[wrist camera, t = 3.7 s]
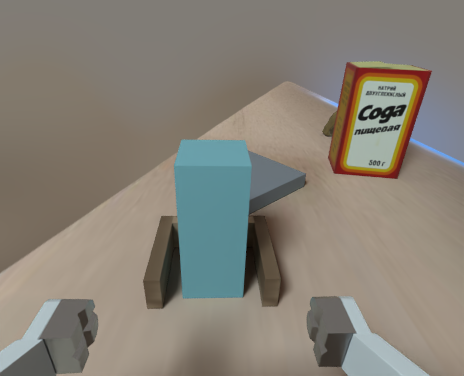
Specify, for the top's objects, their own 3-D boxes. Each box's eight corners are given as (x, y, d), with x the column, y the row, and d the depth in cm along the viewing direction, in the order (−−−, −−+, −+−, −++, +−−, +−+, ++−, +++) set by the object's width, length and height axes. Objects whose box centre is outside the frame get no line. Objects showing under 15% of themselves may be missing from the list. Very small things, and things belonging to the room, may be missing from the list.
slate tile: (244, 160, 51) (245, 149, 50) (303, 186, 43) (306, 173, 42) (186, 181, 44) (185, 168, 43) (244, 216, 36) (245, 201, 35)
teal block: (238, 257, 30) (245, 140, 24) (242, 297, 25) (251, 166, 20) (187, 257, 29) (181, 139, 24) (182, 298, 25) (174, 165, 19)
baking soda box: (384, 162, 52) (413, 62, 45) (396, 178, 47) (432, 67, 39) (328, 157, 53) (347, 59, 46) (333, 173, 48) (356, 64, 40)
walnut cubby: (262, 239, 32) (264, 215, 31) (277, 306, 25) (280, 279, 23) (163, 239, 32) (161, 216, 30) (147, 308, 24) (143, 280, 23)
